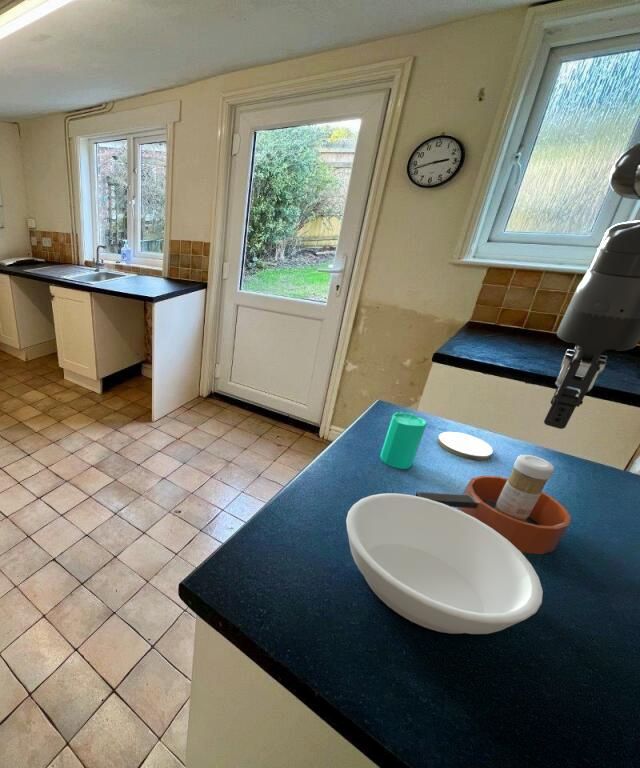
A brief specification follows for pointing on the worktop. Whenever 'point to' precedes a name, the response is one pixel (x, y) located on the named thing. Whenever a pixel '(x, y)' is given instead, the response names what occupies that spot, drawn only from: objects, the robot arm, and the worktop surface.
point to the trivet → (465, 445)
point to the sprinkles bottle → (524, 486)
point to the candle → (402, 440)
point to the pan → (516, 532)
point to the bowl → (441, 565)
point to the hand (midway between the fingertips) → (556, 415)
